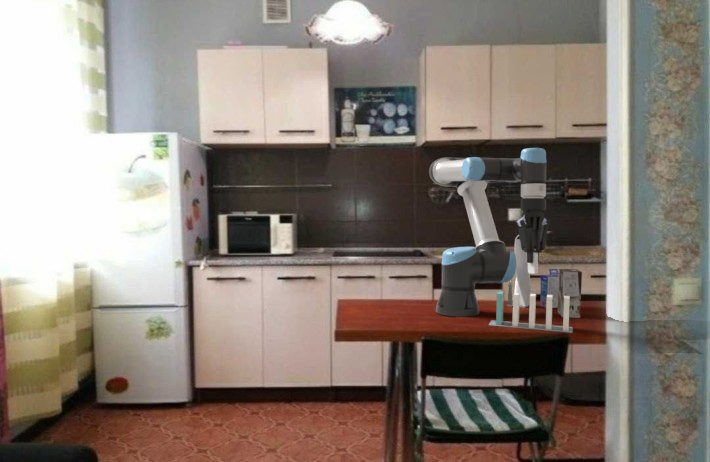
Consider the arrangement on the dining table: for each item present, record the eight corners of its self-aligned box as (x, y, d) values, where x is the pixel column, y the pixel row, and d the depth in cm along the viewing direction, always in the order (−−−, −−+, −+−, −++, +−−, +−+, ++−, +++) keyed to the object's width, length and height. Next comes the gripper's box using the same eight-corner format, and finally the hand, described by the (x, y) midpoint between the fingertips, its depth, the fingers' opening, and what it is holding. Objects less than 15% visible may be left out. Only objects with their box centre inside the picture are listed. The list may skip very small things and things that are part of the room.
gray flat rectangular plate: (488, 326, 175) (488, 325, 175) (491, 321, 182) (491, 320, 182) (572, 333, 166) (572, 332, 166) (572, 328, 173) (572, 327, 173)
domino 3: (545, 329, 170) (546, 297, 169) (546, 325, 174) (547, 294, 174) (551, 329, 169) (552, 297, 169) (551, 326, 174) (552, 295, 173)
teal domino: (496, 324, 175) (496, 293, 175) (497, 321, 180) (498, 291, 179) (501, 325, 175) (502, 294, 174) (502, 322, 179) (503, 291, 179)
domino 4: (562, 330, 168) (564, 298, 168) (563, 327, 173) (564, 295, 172) (568, 331, 167) (569, 298, 167) (568, 327, 172) (569, 296, 172)
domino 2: (528, 327, 172) (529, 295, 171) (529, 324, 176) (530, 293, 176) (534, 328, 171) (535, 296, 171) (535, 324, 176) (535, 293, 175)
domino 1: (512, 326, 173) (513, 294, 173) (513, 322, 178) (514, 292, 178) (517, 326, 173) (518, 295, 172) (518, 323, 177) (519, 292, 177)
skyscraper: (515, 302, 217) (517, 232, 216) (535, 305, 212) (538, 233, 210) (506, 305, 211) (508, 233, 209) (527, 308, 205) (529, 234, 204)
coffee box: (581, 318, 189) (582, 271, 188) (561, 317, 190) (562, 271, 189) (575, 313, 198) (577, 268, 197) (557, 312, 199) (558, 268, 198)
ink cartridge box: (561, 305, 214) (562, 268, 213) (570, 307, 208) (571, 269, 208) (538, 305, 211) (540, 268, 210) (547, 308, 206) (548, 270, 205)
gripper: (527, 196, 165) (526, 275, 165) (557, 198, 171) (557, 273, 171) (509, 198, 171) (508, 273, 172) (538, 199, 178) (538, 271, 178)
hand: (532, 273), depth 172 cm, fingers closed
